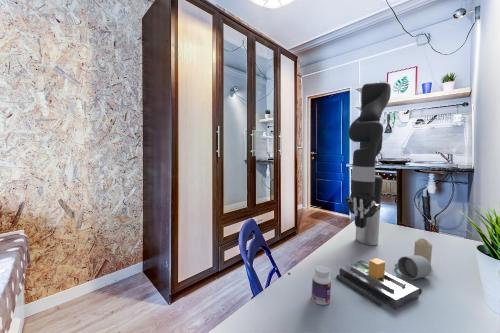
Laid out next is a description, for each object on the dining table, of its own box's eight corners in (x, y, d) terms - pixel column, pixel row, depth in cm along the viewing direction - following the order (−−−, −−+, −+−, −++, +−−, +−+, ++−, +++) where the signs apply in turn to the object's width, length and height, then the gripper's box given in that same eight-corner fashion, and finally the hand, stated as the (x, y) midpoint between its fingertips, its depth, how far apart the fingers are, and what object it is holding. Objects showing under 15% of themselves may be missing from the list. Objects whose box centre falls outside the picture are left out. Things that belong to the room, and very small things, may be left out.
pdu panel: (339, 275, 84) (339, 264, 83) (361, 267, 89) (361, 257, 89) (395, 309, 66) (396, 296, 66) (418, 297, 72) (419, 285, 71)
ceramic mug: (432, 279, 82) (434, 258, 81) (417, 284, 79) (418, 262, 78) (403, 265, 92) (404, 246, 91) (388, 269, 89) (389, 249, 88)
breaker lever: (368, 274, 78) (369, 260, 77) (375, 271, 80) (376, 257, 79) (376, 279, 75) (377, 264, 75) (384, 276, 77) (385, 261, 77)
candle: (433, 267, 90) (435, 243, 89) (417, 266, 91) (419, 241, 90) (425, 261, 95) (427, 237, 94) (410, 259, 96) (412, 236, 95)
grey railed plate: (335, 278, 82) (336, 275, 82) (370, 266, 90) (370, 263, 90) (386, 310, 66) (386, 306, 66) (421, 292, 75) (421, 288, 74)
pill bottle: (330, 307, 67) (332, 275, 66) (311, 303, 68) (312, 272, 68) (329, 295, 72) (330, 265, 71) (311, 292, 74) (312, 263, 73)
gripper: (339, 177, 85) (337, 223, 87) (374, 182, 73) (370, 235, 75) (353, 176, 89) (351, 220, 90) (388, 181, 77) (385, 231, 78)
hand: (360, 227), depth 82 cm, fingers closed
